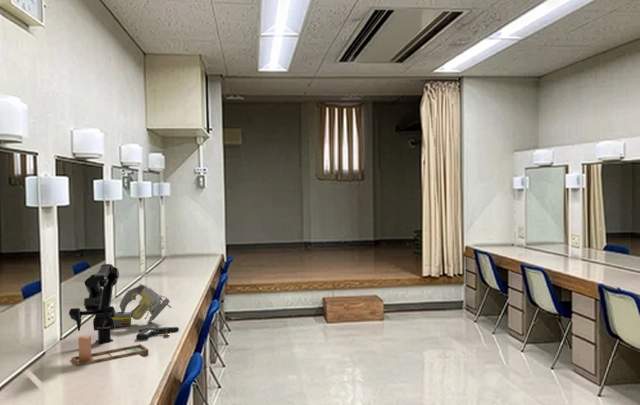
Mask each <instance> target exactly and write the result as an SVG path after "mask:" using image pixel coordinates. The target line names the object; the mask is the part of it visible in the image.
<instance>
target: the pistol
mask: <svg viewBox="0 0 640 405" xmlns="http://www.w3.org/2000/svg"><path fill="white" fill-rule="evenodd" d="M179 328H180V327H178V326H164V327H144V328H140V329H139V330H138V333H137V334H136V336H135V337H136V340H137V341H148V340H149V338H151V337H152V335H153V336H155V335H156V336H158V335H160V336H161V335H163V337H164V338H169V337H170V333H174V332H173V331H178V332H179V331H180V329H179ZM167 332H168V333H167Z"/></svg>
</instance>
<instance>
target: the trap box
mask: <svg viewBox="0 0 640 405" xmlns="http://www.w3.org/2000/svg"><path fill="white" fill-rule="evenodd" d="M122 351H124V352H125V353H121V354H117V355H112V353H117V352H122ZM106 354H107V355H109V356H108V357H107V356H106V357H101V358H96V359H94V357H96V356H102V355H106ZM134 355H138V356H141V357H146V355H147V356H149V349H148V348H147V347H145V346H144V345H142V344H141V343H140V344H134V345H129V346H124V347H119V348H118V347H117V348H115V349H109V350H104V351H98V352H93V353H92V352H91V361H86V362H79V355H78V356H72V357H71V361H72V362H73V363H74V364H75V366H76V367H80V366H86V365H90V364H96V363H100V362H101V363H102V362H105V361H110V360H115V359H121V358H125V357H129V356H130V357H131V356H134Z"/></svg>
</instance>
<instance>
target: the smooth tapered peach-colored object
mask: <svg viewBox="0 0 640 405" xmlns="http://www.w3.org/2000/svg"><path fill="white" fill-rule="evenodd" d="M91 354H92V336H91V335H85V336H84V335H83V336H79V337H78V356H79V362H86V361H91Z"/></svg>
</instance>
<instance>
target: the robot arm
mask: <svg viewBox="0 0 640 405" xmlns="http://www.w3.org/2000/svg"><path fill="white" fill-rule="evenodd" d="M119 277H120V271H119V269H118V268H117V267H115V266H114V265H113V264H111V263H104V264H101V266H100V268H99V269H98V271H97V272H96V273H93V274H91V275H90V276H89V277H88V278H86V279H85V280H84V286H85V288H86V291H87V293H88V297H86V298H84V300H83V306H84V309H85V310H81V309H80V307H73V308H70V309H69V312H68V315H69V316H70V319H71V320H73V322H74V321H75V322H76V326H77V328H76V329H77V331H78V332H80V330H81V327H82V326H81V325H82V316H89V315H90V316H93V315H95V316H94V318H93V322H92V324H93V326H92V327H93V331H97V339H96V340H95V342H96V343H98V344H99V345H100V344H105V343H110V342H111V343H112V342H114V339H112V338H111V336H112V335H111V331H112V330H114V329H115V328H116V326H115V324H114V320H113V318H112V317H115V314H116V312H117V311H116V308H115V307H114V306H113V305H112V306H111V303H112V298H113V297H112V296H113V295H112V294H113V289H114V286H115V285H116V284H117V283H118V279H119Z"/></svg>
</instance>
